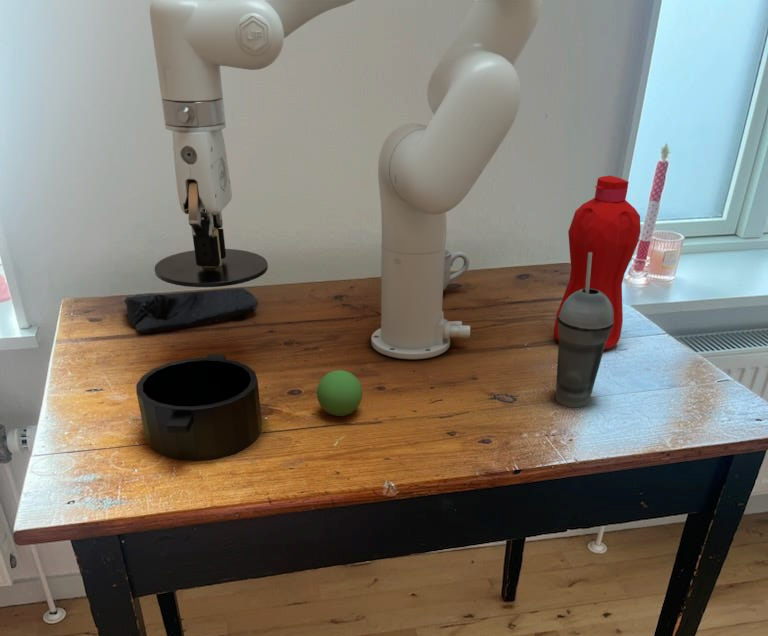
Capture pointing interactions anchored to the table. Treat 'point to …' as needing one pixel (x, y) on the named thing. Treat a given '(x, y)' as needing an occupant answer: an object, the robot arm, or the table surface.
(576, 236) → the water bottle
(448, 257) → the teacup
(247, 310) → the dark slate chunk
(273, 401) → the table surface
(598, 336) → the beverage cup
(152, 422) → the pan
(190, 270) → the lid
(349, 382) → the ball
